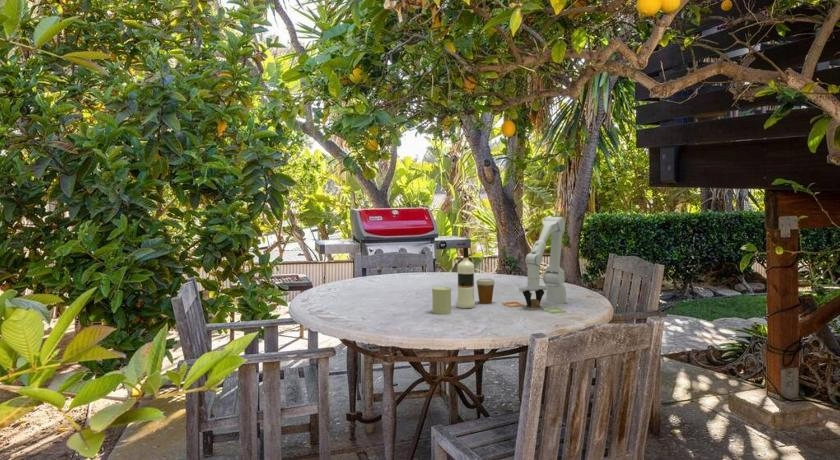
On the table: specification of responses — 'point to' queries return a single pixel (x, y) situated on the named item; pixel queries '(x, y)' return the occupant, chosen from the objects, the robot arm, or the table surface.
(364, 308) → the table surface
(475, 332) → the table surface
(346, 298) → the table surface
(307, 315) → the table surface
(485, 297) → the disposable coffee cup
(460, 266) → the vodka
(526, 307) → the slate dish
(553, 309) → the sage dish
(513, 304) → the terracotta dish
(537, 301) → the letter cube
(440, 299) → the can
